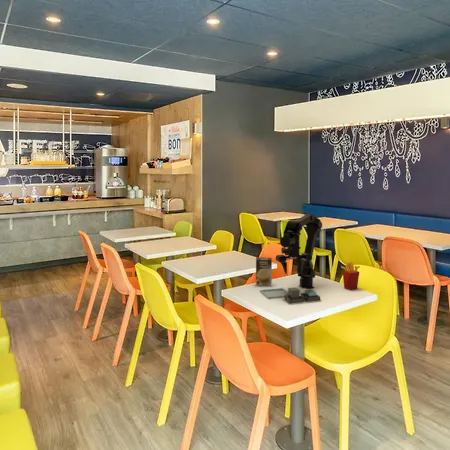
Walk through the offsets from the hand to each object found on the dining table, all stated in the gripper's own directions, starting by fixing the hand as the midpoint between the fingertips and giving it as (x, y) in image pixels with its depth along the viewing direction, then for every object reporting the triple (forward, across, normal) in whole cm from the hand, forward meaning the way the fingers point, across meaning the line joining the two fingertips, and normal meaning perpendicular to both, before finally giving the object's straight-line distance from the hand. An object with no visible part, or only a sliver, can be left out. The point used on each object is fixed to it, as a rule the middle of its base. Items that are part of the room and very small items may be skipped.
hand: (293, 273), depth 230 cm
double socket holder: (+12, +1, +13) cm, 17 cm away
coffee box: (+12, +10, -20) cm, 25 cm away
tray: (+12, +10, -1) cm, 15 cm away
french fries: (+12, -33, -1) cm, 35 cm away
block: (+10, +6, +13) cm, 18 cm away
